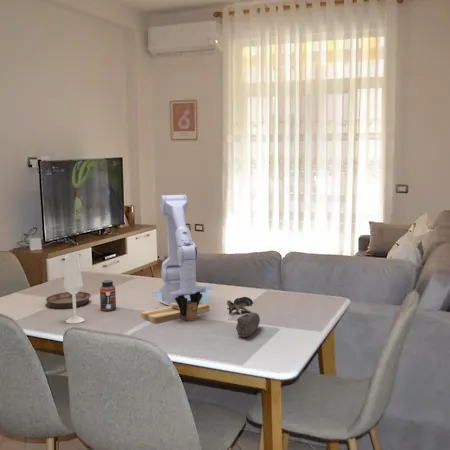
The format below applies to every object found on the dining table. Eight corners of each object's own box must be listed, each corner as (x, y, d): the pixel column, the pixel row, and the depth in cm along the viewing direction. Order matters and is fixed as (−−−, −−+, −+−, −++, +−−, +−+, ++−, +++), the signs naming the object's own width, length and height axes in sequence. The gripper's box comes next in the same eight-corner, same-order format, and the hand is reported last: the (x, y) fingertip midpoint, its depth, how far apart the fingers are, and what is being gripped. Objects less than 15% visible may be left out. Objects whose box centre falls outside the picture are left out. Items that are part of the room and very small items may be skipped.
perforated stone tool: (251, 326, 195) (251, 306, 195) (265, 328, 193) (265, 308, 192) (232, 339, 182) (232, 318, 181) (246, 341, 180) (246, 320, 179)
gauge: (167, 313, 212) (167, 298, 211) (176, 311, 214) (175, 296, 213) (190, 321, 201) (189, 305, 201) (198, 319, 204) (198, 303, 203)
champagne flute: (65, 324, 201) (62, 258, 198) (65, 318, 207) (62, 254, 204) (85, 322, 203) (81, 256, 199) (84, 317, 209) (81, 253, 206)
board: (141, 317, 207) (140, 312, 207) (193, 305, 222) (193, 300, 222) (155, 323, 200) (155, 318, 199) (209, 310, 215) (209, 305, 214)
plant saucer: (36, 308, 223) (36, 301, 222) (62, 297, 239) (61, 290, 239) (75, 311, 217) (75, 303, 217) (99, 299, 234) (98, 292, 234)
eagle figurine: (234, 315, 204) (256, 307, 208) (227, 297, 207) (248, 290, 210) (229, 321, 211) (250, 313, 214) (222, 303, 213) (243, 296, 217)
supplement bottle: (112, 311, 215) (111, 283, 214) (98, 311, 216) (96, 282, 215) (118, 307, 221) (117, 279, 220) (104, 307, 222) (103, 279, 221)
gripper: (177, 282, 196) (178, 320, 197) (210, 276, 205) (211, 312, 206) (166, 279, 201) (167, 316, 203) (199, 273, 210) (199, 308, 212)
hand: (188, 314), depth 205 cm, fingers closed on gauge, 4 cm apart
